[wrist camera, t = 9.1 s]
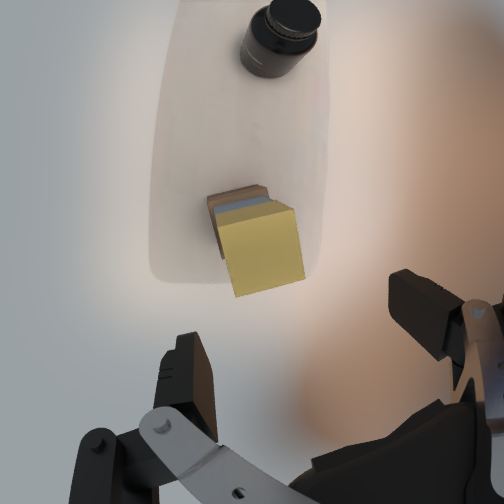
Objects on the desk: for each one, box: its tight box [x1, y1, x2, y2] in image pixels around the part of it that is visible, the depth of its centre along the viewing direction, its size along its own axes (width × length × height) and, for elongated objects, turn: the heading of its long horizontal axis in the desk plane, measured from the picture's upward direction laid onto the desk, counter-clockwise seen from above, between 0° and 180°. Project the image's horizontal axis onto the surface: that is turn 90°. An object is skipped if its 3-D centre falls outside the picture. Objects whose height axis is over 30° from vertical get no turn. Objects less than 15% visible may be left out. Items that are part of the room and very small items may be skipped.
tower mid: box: [214, 195, 273, 272], centre depth 25 cm, size 5×5×5 cm
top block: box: [216, 200, 305, 297], centre depth 21 cm, size 5×5×5 cm
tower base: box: [207, 184, 269, 259], centre depth 31 cm, size 6×6×6 cm
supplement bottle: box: [241, 0, 321, 78], centre depth 22 cm, size 7×7×12 cm
